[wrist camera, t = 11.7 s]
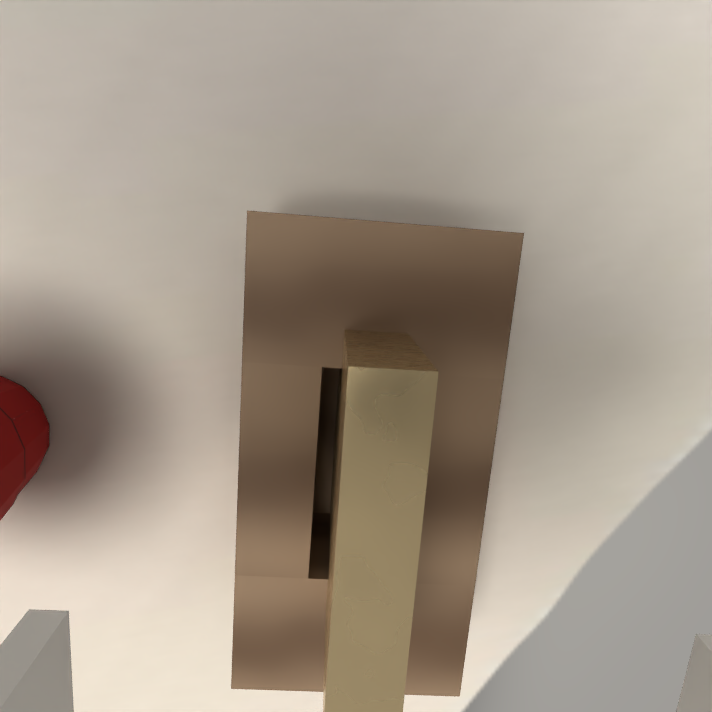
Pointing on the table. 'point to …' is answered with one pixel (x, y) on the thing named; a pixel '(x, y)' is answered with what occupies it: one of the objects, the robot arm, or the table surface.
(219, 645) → the table surface
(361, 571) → the light wooden block
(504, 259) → the slotted block
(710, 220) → the table surface
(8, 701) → the robot arm
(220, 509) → the table surface
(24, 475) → the plastic cup
